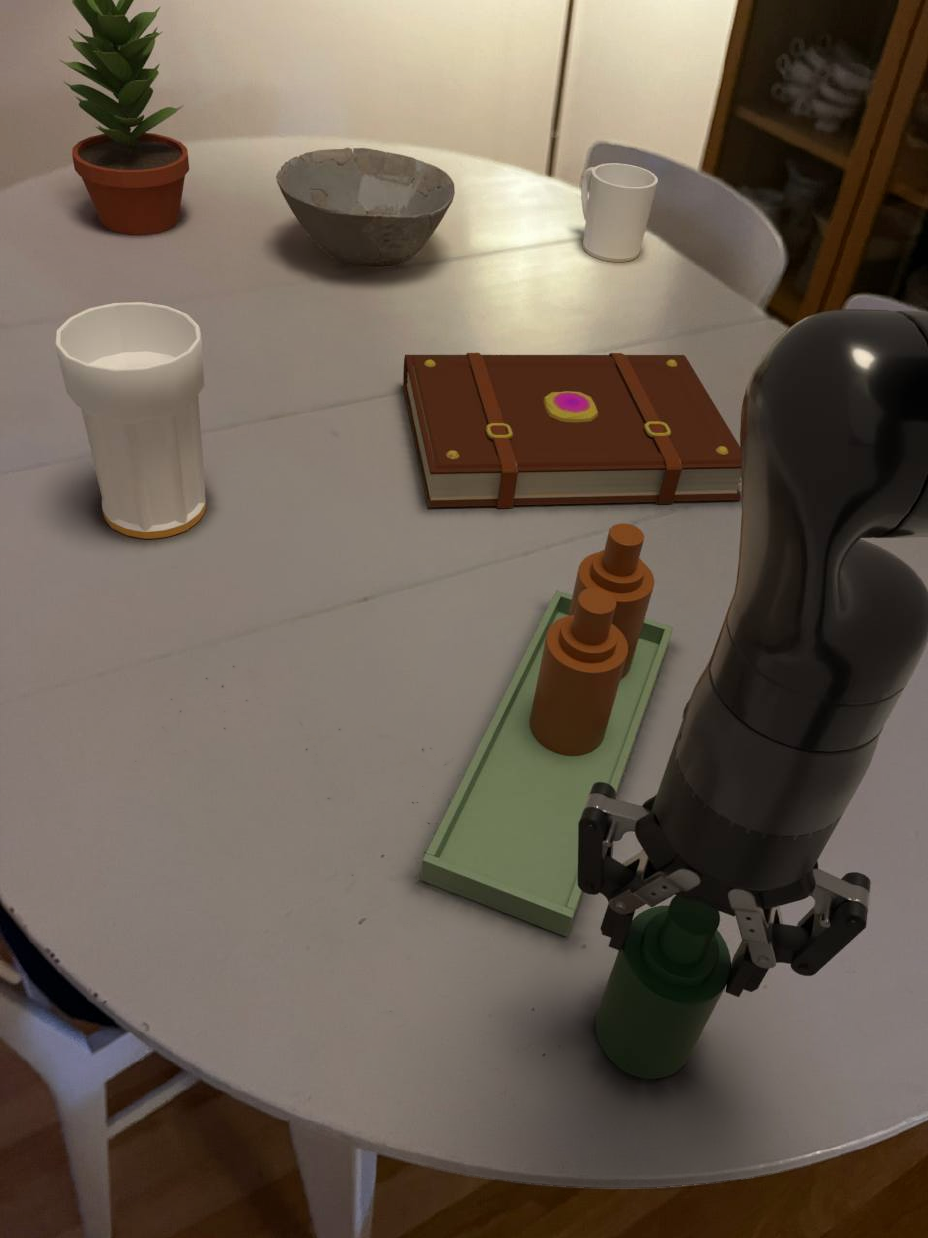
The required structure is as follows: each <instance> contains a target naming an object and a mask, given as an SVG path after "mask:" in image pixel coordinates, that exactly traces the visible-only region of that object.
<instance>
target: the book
mask: <svg viewBox="0 0 928 1238" xmlns="http://www.w3.org/2000/svg"><path fill="white" fill-rule="evenodd" d="M402 377H403V378H402V385H403V392H404V396H405V401H406V407H407V412H408V416H409V421H410V426H411V430H412V435H413V441H414V445H415V450H416V455H417V459H418V464H419V470H420V473H421V478H422V484H423V489H424V493H425V499H426V503H427V507H428V508H452V507H453V508H455V507H456V508H457V507H461V508H462V507H495V506H496V508H497V509H509V508H510V509H511V508H514V506H536V505H539V506H540V505H541V506H542V505H543V506H544V505H578V504H579V505H580V504H581V505H582V504H583V505H584V504H617V503H618V504H621V503H622V504H624V503H625V504H626V503H656V504H657V505H672V504H673V502H700V501H704V502H706V501H742V493H740V491H739V488H740V484H741V483H742V481H741V455H740V443H739V442H738V441H737V439H736V437H735V436H734V434H733V432H732V431H731V429H730V427H729V426H728V424H727V423H726V421H725V420H724V418H723V416H722V414H721V413H720V410H719V409H718V407H717V406H716V405H715V403H714V401H713V399H712V398H711V395H710V394H709V393H708V391H707V390H706V388H705V386H704V384H703V383H702V381H701V379H700V378H699V376H698V375H697V372H696V371H695V370H694V368H693V366H692V365H691V363H690V361H689V359H688V357H687V356H686V355H685V354H624V353H622V352H609V354H481V353H480V352H466V354H404V357H403V376H402Z"/></svg>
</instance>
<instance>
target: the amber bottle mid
mask: <svg viewBox="0 0 928 1238" xmlns="http://www.w3.org/2000/svg"><path fill="white" fill-rule="evenodd" d="M615 608H616V600H615V598H614V596H613V595H612V594H611V593H609V592H608V591H606V590H603V589H600V588H588V589H585V590H583V591H582V592H581V593H580V594H579V596H578V600H577V605H576V609H575V614H574V615H570V616H566V617H563V618H561V619H559V620H557V621H556V622H554V623H553V624H552V625H551V626H550V628H549V630H548V632H547V635H546V640H545V645H544V650H543V655H542V660H541V665H540V670H539V675H538V680H537V685H536V690H535V695H534V701H533V706H532V711H531V716H530V728H531V731H532V734H533V735H534V737H535V738H536V740H537V741H538V742H539V743H540V744H541V745H542V746H544V747H545V748H547V749H549V750H550V751H553V752H555V753H558V754H561V755H567V756H578V755H584V754H587V753H590V752H592V751H593V750H595V749H596V748H597V747H598V746H599V745H600V744H601V743H602V741H603V739H604V736H605V733H606V729H607V726H608V722H609V719H610V715H611V711H612V708H613V704H614V701H615V697H616V694H617V690H618V686H619V683H620V679H621V676H622V672H623V668H624V665H625V661H626V658H627V654H628V644H627V640H626V638H625V636H624V635H623V633H622V632H621V631H620V630H619V629H618V628H617V627H616V626H614V625H613V624H612V620H613V616H614V612H615Z"/></svg>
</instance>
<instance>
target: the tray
mask: <svg viewBox="0 0 928 1238" xmlns="http://www.w3.org/2000/svg"><path fill="white" fill-rule="evenodd" d="M572 596H573V594H571V593H567V592H564V591H561V590H558V589H556V590H555V592H554V594H553V596H552V598H551V600H550V602H549V604H548V606H547V608H546V610H545V612H544V614H543V615H542V619H541V620H540V622H539V624H538V626H537V628H536V630H535V632H534V634H533V635H532V639H531V640H530V643H529V644H528V646H527V649H526V650H525V653H524V655H522V658H521V660H520V662H519V665H518V667H517V668H516V671H515V672H514V674H513V676H512V678H511V680H510V683H509V684H508V686H507V689H506V691H505V693H504V695H503V697H502V698H501V701H500V702H499V705H498V707H497V709H496V711H495V713H494V715H493V717H492V719H491V720H490V723H489V725H488V727H487V729H486V730H485V733H484V735H483V737H482V738H481V741H480V743H479V745H478V747H477V749H476V751H475V753H474V755H473V757H472V759H471V761H470V763H469V765H468V767H467V769H466V771H465V773H464V775H463V777H462V779H461V781H460V783H459V785H458V787H457V789H456V791H455V794H454V796H453V797H452V799H451V802H450V804H449V806H448V808H447V810H446V812H445V814H444V816H443V818H442V819H441V821H440V823H439V826H438V827H437V830H436V832H435V834H434V836H433V838H432V840H431V842H430V844H429V846H428V847H427V850H426V852H425V854H424V856H423V858H422V862H421V863H422V864H421V873H420V881H422V882H425V883H428V884H430V885H432V886H435V887H438V888H440V889H443V890H446V891H448V892H451V893H453V894H456V895H458V896H460V897H463V898H466V899H468V900H471V901H473V902H476V903H479V904H481V905H484V906H486V907H489V908H492V909H494V910H497V911H499V912H501V913H504V914H507V915H509V916H512V917H515V918H517V919H520V920H522V921H525V922H528V923H529V924H532V925H535V926H538V927H540V928H543V929H545V930H547V931H551V932H552V933H555V934H558V935H560V936H563V937H568V935H569V932H570V930H571V927H572V923H573V920H574V917H575V914H576V912H577V909H578V906H579V903H580V900H581V898H582V894H583V893H584V892H583V891H582V890H581V889H580V888H579V887H578V824H579V820H580V818H581V815H582V812H583V810H584V807H585V804H586V802H587V799H588V796H589V794H590V791H591V788H592V786H593V784H594V783H596V782H604V783H607V784H609V785H611V786H612V787H613V788H614V789H615V792H616V795H618V794H617V793H618V791H619V788H620V785H621V781H622V779H623V776H624V773H625V770H626V767H627V764H628V761H629V760H630V759H629V758H630V756H631V753H632V750H633V747H634V744H635V741H636V739H637V735H638V732H639V731H640V727H641V724H642V722H643V719H644V715H645V713H646V709H647V706H648V704H649V701H650V698H651V695H652V692H653V689H654V686H655V683H656V681H657V677H658V675H659V672H660V669H661V667H662V663H663V660H664V657H665V655H666V652H667V649H668V645H669V643H670V640H671V635H672V633H673V630H674V626H671V625H668V624H665V623H662V622H658V621H656V620H652V619H649V618H646V617H645V619H644V622H643V626H642V629H641V633H640V636H639V640H638V643H637V647H636V650H635V654H634V657H633V661H632V664H631V668H630V670H629V672H628V674H627V675H626V676H625V677H624V678H622V679H621V680H620V683H619V686H618V690H617V694H616V697H615V701H614V704H613V708H612V711H611V715H610V719H609V722H608V726H607V729H606V733H605V736H604V739H603V741H602V743H601V744H600V745H599V746H598V747H597V748H596V749H595V750H593V751H592V752H590V753H587V754H584V755H578V756H567V755H561V754H558V753H555V752H553V751H550V750H549V749H547V748H545V747H544V746H542V745H541V744H540V743H539V742H538V741H537V740H536V738H535V737H534V735H533V734H532V731H531V728H530V716H531V711H532V706H533V701H534V695H535V690H536V685H537V680H538V675H539V670H540V665H541V660H542V655H543V650H544V645H545V640H546V635H547V632H548V630H549V628H550V626H551V625H552V624H553V623H554V622H556V621H557V620H559V619H561V618H563V617H566V616H568V615H569V610H570V606H571V601H572Z"/></svg>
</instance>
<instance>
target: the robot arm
mask: <svg viewBox="0 0 928 1238" xmlns="http://www.w3.org/2000/svg"><path fill="white" fill-rule="evenodd" d="M739 446H740V455H741V478H740V480H741V519H740V535H739V536H740V537H739V551H738V554H739V555H738V562H737V564H738V565H737V572H736V582H735V586H734V591H733V595H732V597H731V600H730V602H729V606H728V609H727V611H726V614H725V617H724V620H723V622H722V625H721V628H720V631H719V634H718V637H717V640H716V642H715V645H714V648H713V652H712V654H711V656H710V659H709V661H708V663H707V665H706V667H705V668H704V670H703V671H702V673H701V674H700V676H699V678H698V680H697V682H696V684H695V686H694V688H693V691H692V693H691V694H690V698H689V700H688V701H687V703H686V705H685V706H684V709H683V714H682V720H681V723H680V726H679V729H678V732H677V735H676V738H675V741H674V744H673V747H672V748H671V752H670V755H669V759H668V761H667V763H666V767H665V770H664V773H663V775H662V778H661V780H660V781H661V782H660V784H659V787H658V790H657V793H656V794H655V795H653V796H652V797H651V798H649V799H646V801H644V802H643V804H642V805H640V804H635V803H631V802H627V801H624V800H619V799H616V798H617V794H616V792H615V789H614V788H613V787H612V786H611V785H609V784H607V783H604V782H596V783H594V784H593V786H592V788H591V791H590V794H589V796H588V799H587V802H586V804H585V807H584V810H583V812H582V815H581V818H580V820H579V824H578V887H579V888H580V889H581V890H582V891H583V892H582V893H585V894H587V895H591V896H594V895H595V896H596V895H599V894H601V895H603V896H604V897H605V899H606V900H607V902H608V904H607V906H606V910H605V913H604V916H603V919H602V922H601V926H600V932H601V935H602V936H605V937H607V938H610V940H609V943H608V948H611V949H614V950H616V951H618V952H619V951H621V949H622V946H623V944H624V941H625V938H626V936H627V933H628V930H629V928H630V925H631V922H632V920H633V919H634V918H635V912H636V910H639V909H640V908H642V907H643V906H645V905H647V906H648V907H650V908H653V907H657V906H658V905H659V904H661V903H663V902H665V901H666V900H668V899H670V898H673V897H674V896H676V895H677V896H680V897H683V898H685V899H689V900H694V901H698V902H703V903H706V904H707V905H709V906H711V907H713V908H715V909H716V910H718V911H719V913H720V912H721V913H722V914H723V913H724V914H726V915H728V916H731V917H735V920H736V923H737V927H738V930H739V934H740V939H741V941H740V944H739V945H738V947H737V949H736V951H735V953H734V955H733V957H732V959H731V973H730V977H729V981H728V983H727V985H726V987H725V993H727V994H729V995H731V996H734V997H736V998H740V996H741V994H742V993H743V991H747V992H749V993H752V992H754V991H757V990H758V989H759V987H760V985H761V983H762V982H763V980H764V979H765V977H766V975H767V973H768V972H769V970H770V969H774V968H775V967H776V966H777V964H779V963H780V964H788V965H790V968H791V969H792V971H793V972H794V973H796V974H798V975H800V976H804V977H812V976H814V975H816V974H817V973H818V972H819V971H820V970H821V969H823V968H824V967H825V966H826V965H827V964H828V963H829V962H830V961H831V960H833V958H835V957H836V956H837V955H838V954H839V953H840V952H841V951H842V950H843V949H845V947H847V946H848V945H849V944H850V943H851V942H852V941H853V940H854V939H855V938H856V937H858V935H860V934H861V933H862V932H864V930H865V929H866V928H867V925H868V924H867V923H868V913H869V907H870V899H871V879H870V878H869V877H868V876H867V875H866V874H863V873H861V872H857V871H851V872H846V873H845V874H844V875H843V876H842V877H841V878H839V877H837V876H835V875H833V874H831V873H829V872H826V871H825V870H822V869H821V868H819V861H818V860H819V858H820V857H821V855H822V853H823V851H824V850H825V847H826V846H827V844H828V842H829V840H830V839H831V837H832V835H833V834H834V832H835V830H836V828H837V826H838V824H839V822H840V820H841V819H842V817H843V816H844V813H845V812H846V810H847V808H848V806H849V804H850V802H851V801H852V799H853V797H854V795H855V794H856V792H857V791H858V788H859V787H860V785H861V783H862V782H863V780H864V777H866V774H867V772H868V770H869V768H870V765H871V763H872V760H873V757H874V755H875V752H876V749H877V746H878V742H879V739H880V736H881V733H882V731H883V730H884V727H885V725H886V723H887V722H888V720H889V718H890V717H891V715H892V712H893V711H894V710H895V707H896V706H897V703H898V702H899V700H900V698H901V696H902V695H903V693H904V691H905V689H906V687H907V686H908V684H909V682H910V680H911V679H912V677H913V675H914V673H915V671H916V669H917V667H918V665H919V662H921V659H922V657H923V654H924V652H925V650H926V648H927V646H928V587H927V585H926V583H925V582H924V580H923V579H922V577H920V576H919V574H918V573H917V572H916V571H915V569H913V568H912V566H910V565H909V564H908V563H907V562H906V561H904V560H903V559H902V558H900V557H899V556H897V555H896V554H894V553H892V552H890V551H888V550H887V549H885V548H883V547H881V546H879V545H877V544H875V543H872V542H870V541H867V540H864V539H873V538H874V539H901V538H902V539H903V538H905V539H907V538H910V539H911V538H928V311H919V310H917V311H916V310H889V309H866V308H865V309H859V308H857V309H856V308H855V309H854V308H853V309H852V308H851V309H849V308H843V309H842V308H840V309H839V308H837V309H831V310H824V311H819V312H816V313H813V314H810V315H809V316H807V317H806V316H805V317H804V318H802V319H800V320H799V321H797V322H796V323H795V324H792V325H791V326H790V327H788V328H787V329H786V330H785V331H784V332H783V333H782V334H781V335H779V336H778V338H777V339H775V341H773V343H772V344H771V345H770V346H769V348H768V349H766V351H765V352H764V354H763V355H762V357H760V359H759V361H758V363H757V365H756V366H755V367H754V369H753V371H752V373H751V376H750V378H749V380H748V383H747V386H746V388H745V392H744V395H743V399H742V405H741V411H740V427H739ZM629 832H634V834H635V837H636V840H637V841H638V843H639V845H640V846H641V848H642V850H641V851H640V852H638V853H637V854H635V855H633V856H632V857H631V858H629V859H627V860H625V861H624V862H620V861H618V860H617V859H615V858H614V857H613V854H614V842H618V841H620V840H622V839H623V836H624V834H626V833H629ZM809 897H812V898H813V899H814V904H813V907H812V908H811V909H810V910H809V911H808V912H807V913H805V915H804V916H803V917H802V918H801V919H800V920H799V921H798V922H797V924H796V925H792V924H786V923H784V920H783V916H782V912H781V908H780V907H781V906H784V905H788V904H791V903H795V902H800V901H803V900H805V899H807V898H809Z"/></svg>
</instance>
